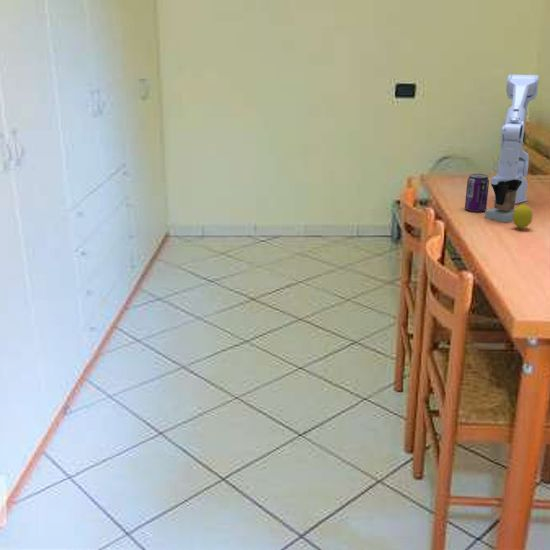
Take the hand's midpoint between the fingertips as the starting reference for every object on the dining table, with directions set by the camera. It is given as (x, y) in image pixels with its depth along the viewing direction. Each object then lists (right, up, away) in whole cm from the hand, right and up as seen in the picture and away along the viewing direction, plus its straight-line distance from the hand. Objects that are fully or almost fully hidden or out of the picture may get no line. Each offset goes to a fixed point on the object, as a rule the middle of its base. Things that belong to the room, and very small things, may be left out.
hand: (504, 203), depth 220 cm
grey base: (0, -5, +2) cm, 5 cm away
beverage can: (-6, -1, +12) cm, 13 cm away
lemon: (+2, -9, -10) cm, 14 cm away
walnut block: (0, -2, 0) cm, 2 cm away
